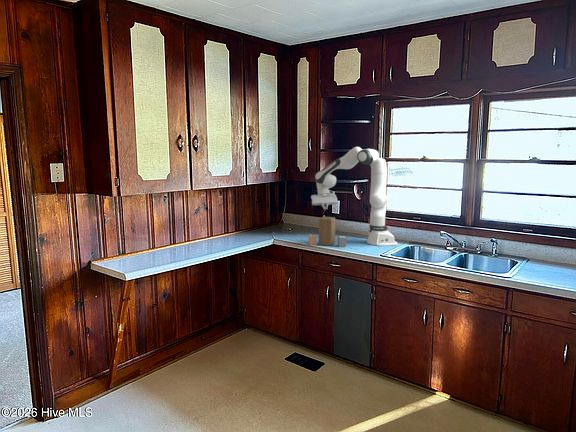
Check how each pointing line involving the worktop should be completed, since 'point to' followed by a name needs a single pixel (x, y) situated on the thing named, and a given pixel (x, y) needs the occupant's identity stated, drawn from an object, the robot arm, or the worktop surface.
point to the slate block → (341, 241)
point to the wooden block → (327, 231)
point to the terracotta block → (312, 239)
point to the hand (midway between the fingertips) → (325, 208)
